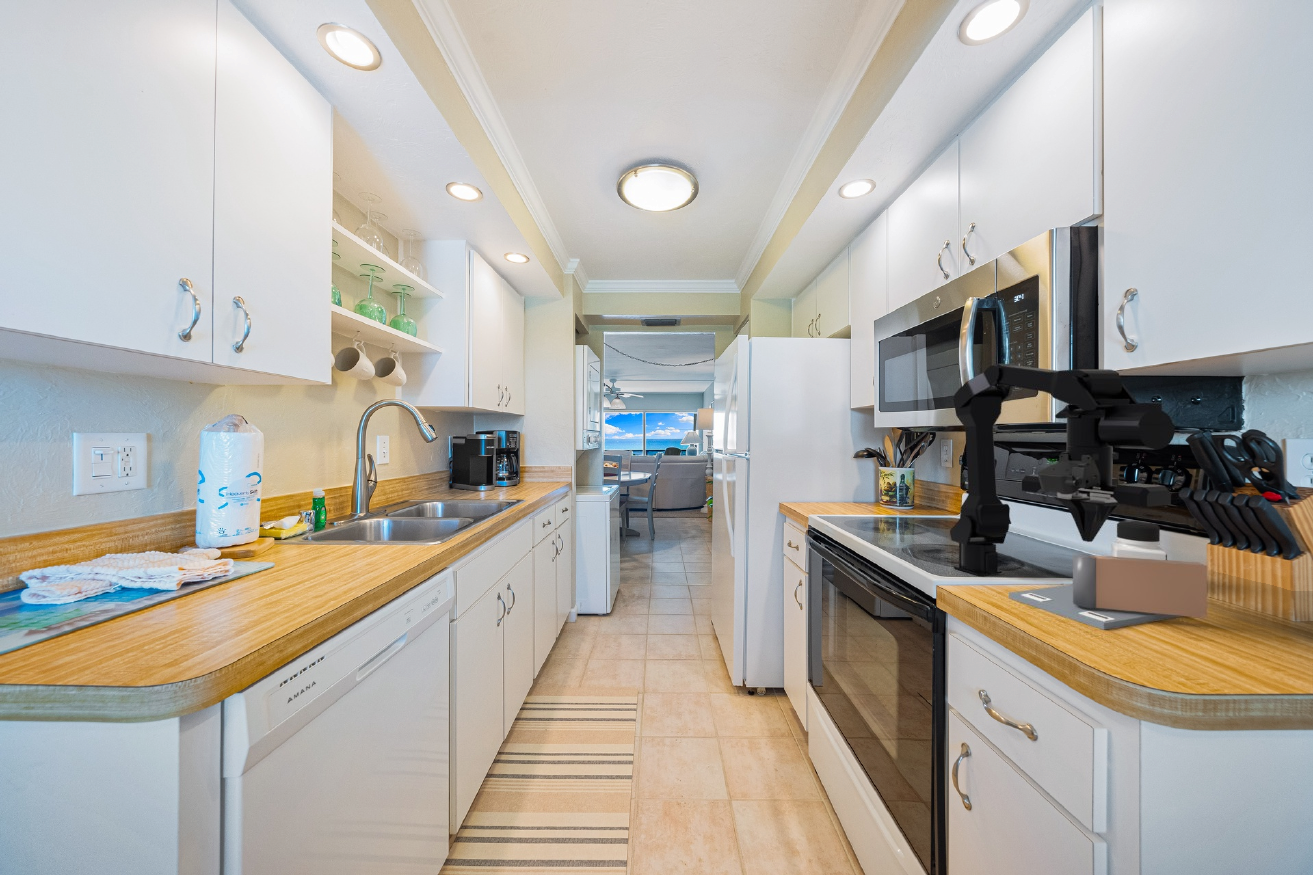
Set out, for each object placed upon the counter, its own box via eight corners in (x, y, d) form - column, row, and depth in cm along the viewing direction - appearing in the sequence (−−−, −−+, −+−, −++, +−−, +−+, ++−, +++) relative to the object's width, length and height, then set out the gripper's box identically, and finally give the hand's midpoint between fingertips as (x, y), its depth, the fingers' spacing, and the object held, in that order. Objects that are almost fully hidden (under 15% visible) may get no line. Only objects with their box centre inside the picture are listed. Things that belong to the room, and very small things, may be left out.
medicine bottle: (1167, 591, 93) (1167, 526, 93) (1115, 584, 97) (1115, 522, 97) (1159, 581, 99) (1159, 521, 98) (1110, 575, 103) (1111, 517, 103)
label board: (1008, 598, 90) (1008, 591, 90) (1086, 587, 95) (1086, 581, 95) (1103, 629, 75) (1103, 621, 75) (1188, 615, 81) (1188, 607, 81)
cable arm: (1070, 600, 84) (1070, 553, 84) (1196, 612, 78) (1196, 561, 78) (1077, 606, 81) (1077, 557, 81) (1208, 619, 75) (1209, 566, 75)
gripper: (997, 445, 88) (996, 532, 89) (1120, 450, 70) (1118, 560, 71) (1045, 443, 91) (1043, 528, 92) (1174, 448, 73) (1172, 554, 74)
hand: (1087, 541), depth 82 cm, fingers closed
